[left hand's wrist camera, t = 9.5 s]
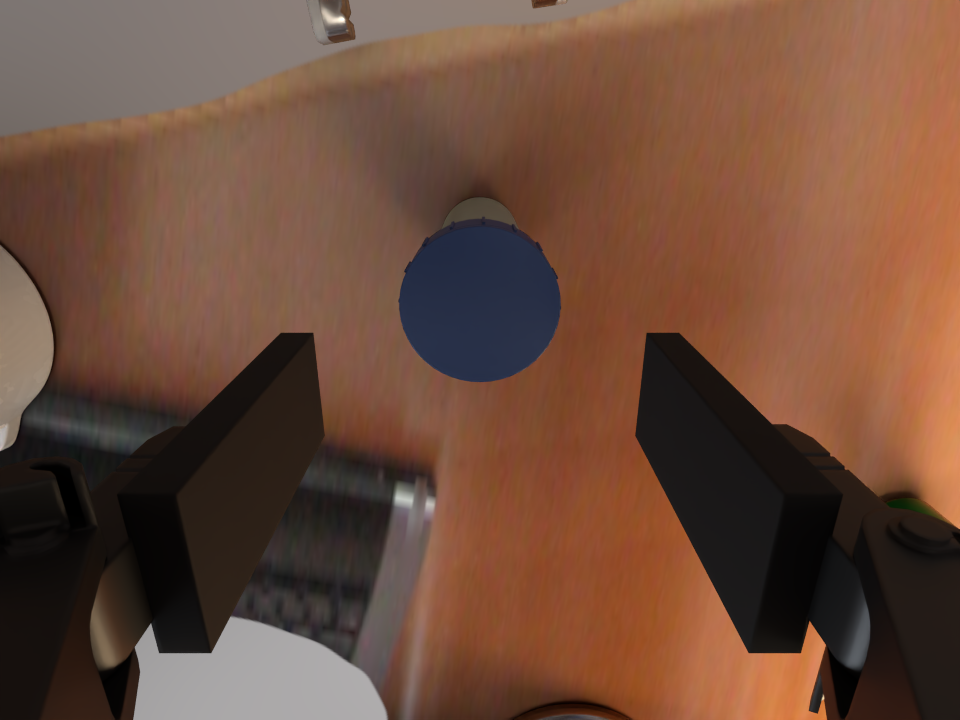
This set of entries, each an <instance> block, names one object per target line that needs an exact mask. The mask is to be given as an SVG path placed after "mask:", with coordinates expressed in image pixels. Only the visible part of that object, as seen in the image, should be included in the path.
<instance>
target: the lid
mask: <svg viewBox="0 0 960 720" xmlns="http://www.w3.org/2000/svg"><path fill="white" fill-rule="evenodd" d="M542 251H543V250H542V248H541V246H540V245H539V243H538V242H536V243H535V242H534V241H533V240H532V239H531V238H530V237H529V236H527V235H526V234H525V233H524V232H522V231H521V230H519V229H517V228H516V226H515V225H514V224H512V225H509V224H507V223H504V222H501V221H497V220H491V219H485V217H482V219H468V220H464V221H459V222H456V223H455V222H454V221H452V222H451V225H448V226H446V227H445V228H443V229H441V230H439V231H438V232H436V233H435V234H434V235H432V236H431V237H430V238H428V237H427V238H426V239H425V241H424V242H423V244H422V247H421V248H420V249H419V250H418V252H417V254H416V255H415V257H414V259H413V260H412V262H409V264H408V265H407V267H406V269H405V271H404V272H405V273H406V274H405V277H404V279H403V283H402V286H401V291H400V298H399V310H400V317H401V322H402V325H403V329H404V331H405V334H406V336H407V338H408V340H409V342H410V343H411V345H412V347H413V348H414V349H415V351H416V352H417V353H418V355H419V356H420V357H421V358H422V359H423V360H424V361H425V362H427V363H428V364H429V365H431V366H432V367H433V368H435V369H436V370H438V371H440V372H441V373H443V374H446V375H448V376H450V377H453V378H457V379H460V380H465V381H471V382H488V381H495V380H500V379H504V378H507V377H510V376H512V375H514V374H516V373H518V372H520V371H522V370H524V369H525V368H527V367H528V366H529V365H531V364H532V363H533V362H534V361H536V360H537V359H538V357H539V356H540V355H541V354H542V353H543V352H544V351H545V349H546V348H547V346H548V345H549V343H550V342H551V340H552V338H553V336H554V334H555V331H556V328H557V325H558V321H559V317H560V309H561V303H560V292H559V286H558V283H557V280H556V279H558V277H557V275H556V273H555V271H554V269H553V268H551V266H550V264H549V262H548V261H547V259H546V257H545V255H544V254H543V252H542Z"/></svg>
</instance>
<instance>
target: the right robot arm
mask: <svg viewBox="0 0 960 720" xmlns="http://www.w3.org/2000/svg"><path fill="white" fill-rule="evenodd" d="M306 1H307V5H308V10H309V14H310V18H311V23H312V27H313V32H314V34H315V36H316V39H317V41H318V42H319V43H321V44H323V45H327V44H333V43H339V42H344V41H349V40H354V39H355V30H354V25H353V24H352V23H351V21H350V20H349V17H350V15H351V10H350V6H349V1H348V0H306ZM567 1H568V0H532V6H533V8H540V7H546V6H553V5H559V4H564V3H566V2H567ZM53 353H54V341H53V333H52V327H51V323H50V319H49V316H48V313H47V310H46V307H45V305H44V303H43V300H42V298H41V296H40V294H39V292H38V291H37V289H36V287H35V285H34V284H33V282H32V281H31V279H30V278H29V276H28V275H27V274H26V272H25V271H24V270H23V268H22V267H21V266H20V265H19V263H18V262H17V261H16V260H15V259H14V258H13V257H12V256H11V255H10V254H9V253H8V252H7V251H6V250H5V249H4V248H3V247H2V246H1V245H0V451H2V450H4V449H6V448H8V447H10V446H11V445H12V444H13V443H14V442H15V440H16V437H17V434H18V430H19V425H20V420H21V414H22V413H23V411H24V410H25V408H26V407H27V406H28V405H29V403H30V402H31V401H32V400H33V399H34V398H35V397H36V396H37V395H38V393H39V392H40V391H41V389H42V388H43V386H44V385H45V383H46V381H47V379H48V376H49V373H50V371H51V367H52V362H53Z"/></svg>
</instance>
